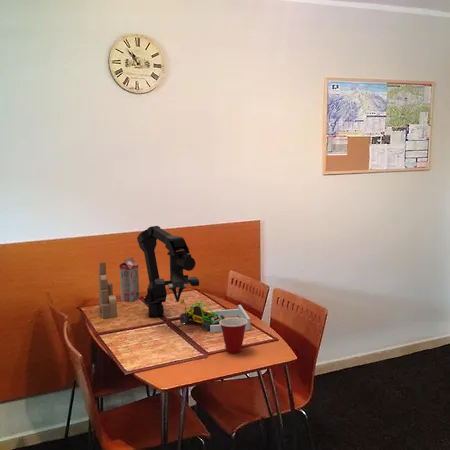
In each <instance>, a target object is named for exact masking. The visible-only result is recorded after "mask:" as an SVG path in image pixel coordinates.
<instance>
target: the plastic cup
mask: <svg viewBox="0 0 450 450" xmlns="http://www.w3.org/2000/svg"><path fill="white" fill-rule="evenodd" d="M219 323H220V324H219V325H221V328H222V332H221V333H222V337H223V341H224V347H225V351H226V352H227V353H229V354H240V353H241V351H242V348H243V342H244V337H245V331H246V330H245V327H246V324H247V320H246V319H243V318H240V317H225V319H223V320H221V321H220V322H219Z"/></svg>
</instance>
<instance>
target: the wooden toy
mask: <svg viewBox="0 0 450 450" xmlns="http://www.w3.org/2000/svg"><path fill="white" fill-rule="evenodd" d="M98 289H99V290H98V303H99V312H100V313H101V317H102V319H104V320H105V319H112V318H118V305H117V297H116V296H117V295H115V294H114V292H113V291H114V290H113V282H108V274H107V263H106V262H105V261H103V262H99V268H98Z"/></svg>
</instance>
